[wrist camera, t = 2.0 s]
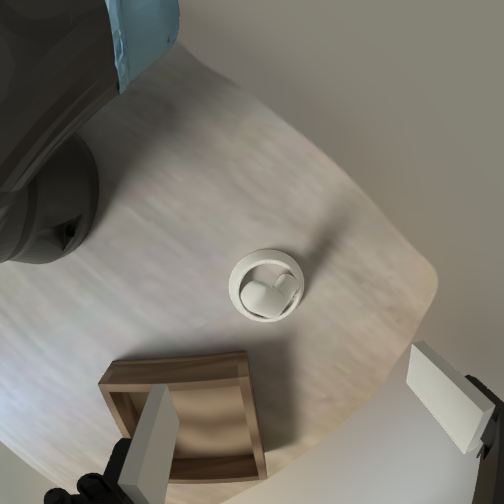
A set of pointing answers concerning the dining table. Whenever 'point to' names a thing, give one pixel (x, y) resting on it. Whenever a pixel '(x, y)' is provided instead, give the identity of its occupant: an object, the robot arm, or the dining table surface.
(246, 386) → the wooden tray
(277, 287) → the hook
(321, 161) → the dining table surface
